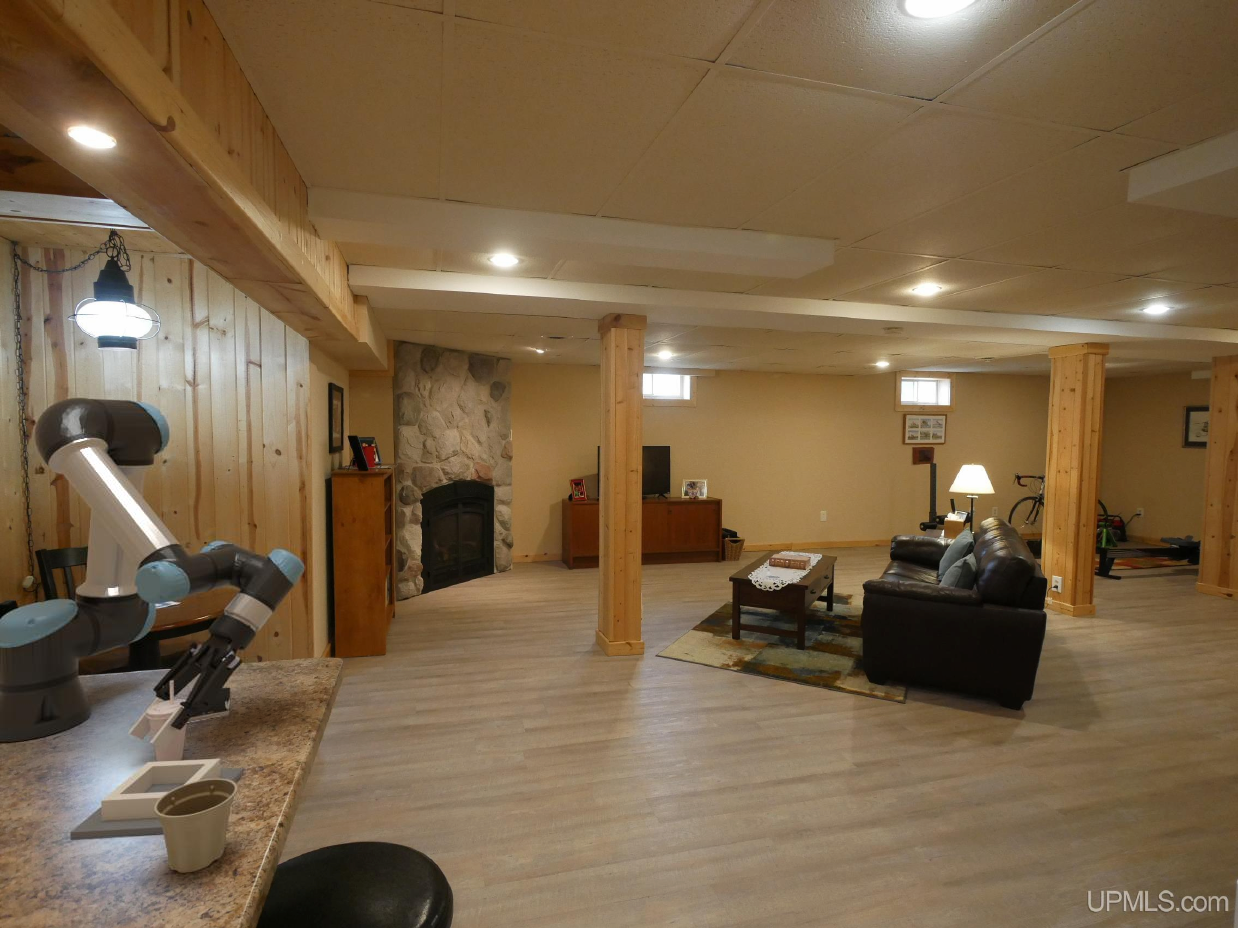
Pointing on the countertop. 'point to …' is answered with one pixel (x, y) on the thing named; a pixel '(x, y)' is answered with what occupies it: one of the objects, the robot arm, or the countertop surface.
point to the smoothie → (158, 718)
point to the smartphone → (215, 707)
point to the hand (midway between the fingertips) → (146, 740)
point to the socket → (147, 797)
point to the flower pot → (196, 822)
